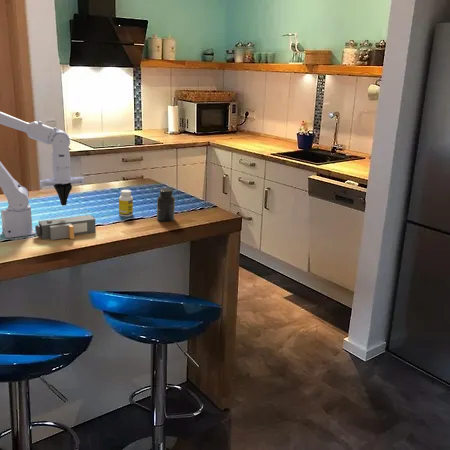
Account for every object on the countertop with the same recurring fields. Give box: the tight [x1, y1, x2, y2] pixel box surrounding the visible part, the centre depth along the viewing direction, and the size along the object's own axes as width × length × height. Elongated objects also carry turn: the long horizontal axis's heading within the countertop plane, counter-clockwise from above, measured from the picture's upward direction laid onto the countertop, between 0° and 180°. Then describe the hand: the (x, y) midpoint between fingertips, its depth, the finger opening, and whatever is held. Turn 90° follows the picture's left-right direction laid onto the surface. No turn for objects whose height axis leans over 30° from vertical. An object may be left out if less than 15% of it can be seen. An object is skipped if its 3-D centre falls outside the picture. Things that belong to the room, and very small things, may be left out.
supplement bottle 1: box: [118, 189, 134, 218], centre depth 195 cm, size 5×5×10 cm
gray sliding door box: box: [34, 214, 97, 241], centre depth 172 cm, size 19×5×6 cm, turn 122°
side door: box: [49, 223, 75, 241], centre depth 167 cm, size 7×4×4 cm, turn 122°
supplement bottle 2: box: [156, 187, 176, 223], centre depth 192 cm, size 7×7×12 cm
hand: (63, 204), depth 174 cm, fingers closed
